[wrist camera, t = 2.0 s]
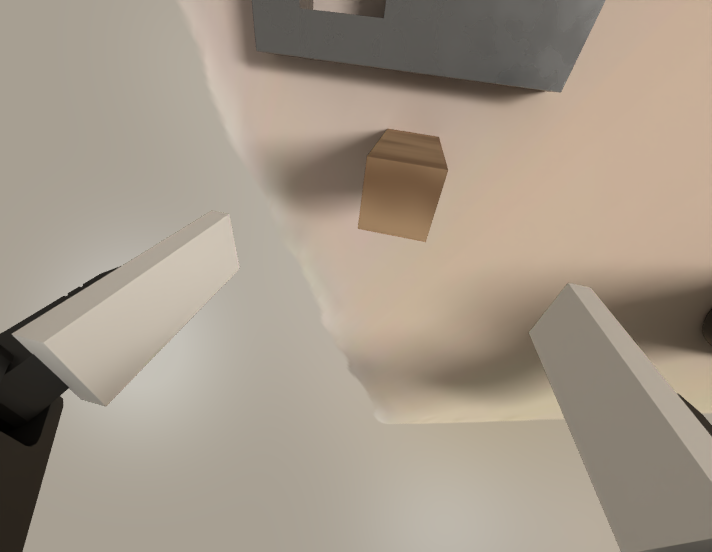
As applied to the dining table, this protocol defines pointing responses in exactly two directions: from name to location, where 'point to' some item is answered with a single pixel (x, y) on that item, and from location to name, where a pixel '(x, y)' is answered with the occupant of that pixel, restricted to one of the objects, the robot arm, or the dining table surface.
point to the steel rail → (439, 37)
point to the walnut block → (402, 184)
